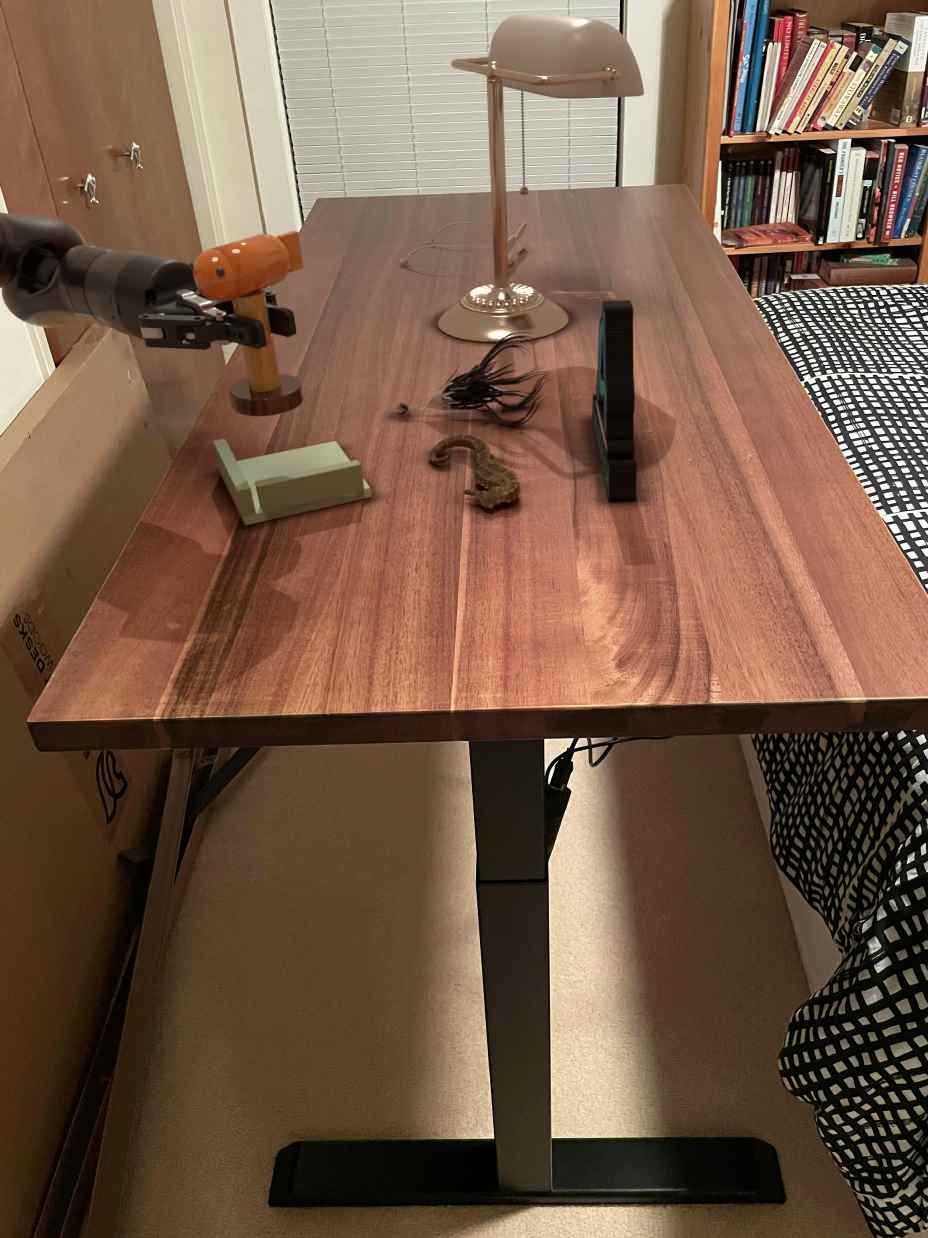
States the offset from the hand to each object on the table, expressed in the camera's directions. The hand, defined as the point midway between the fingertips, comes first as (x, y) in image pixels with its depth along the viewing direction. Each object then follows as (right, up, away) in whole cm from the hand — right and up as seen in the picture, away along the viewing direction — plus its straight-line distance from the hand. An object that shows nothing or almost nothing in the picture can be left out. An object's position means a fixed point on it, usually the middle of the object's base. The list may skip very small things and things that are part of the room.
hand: (276, 329), depth 81 cm
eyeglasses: (+12, +40, +77) cm, 88 cm away
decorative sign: (+30, -8, +15) cm, 34 cm away
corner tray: (-1, -11, +12) cm, 16 cm away
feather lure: (+16, -1, +24) cm, 29 cm away
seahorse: (+16, -10, +12) cm, 23 cm away
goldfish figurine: (-2, -5, +6) cm, 8 cm away
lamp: (+22, +20, +51) cm, 59 cm away
